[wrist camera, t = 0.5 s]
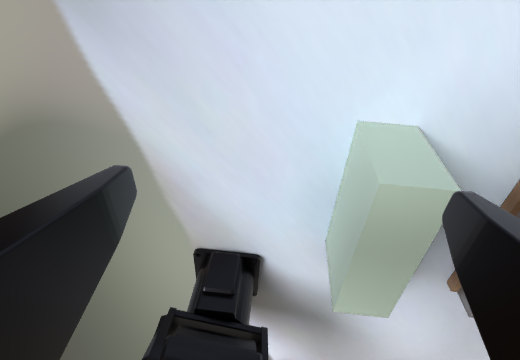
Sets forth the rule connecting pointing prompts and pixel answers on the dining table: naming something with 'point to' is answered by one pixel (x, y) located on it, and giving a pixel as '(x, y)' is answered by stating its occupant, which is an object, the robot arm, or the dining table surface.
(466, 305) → the bottom track
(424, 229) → the pale green block
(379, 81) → the dining table surface
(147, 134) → the dining table surface
